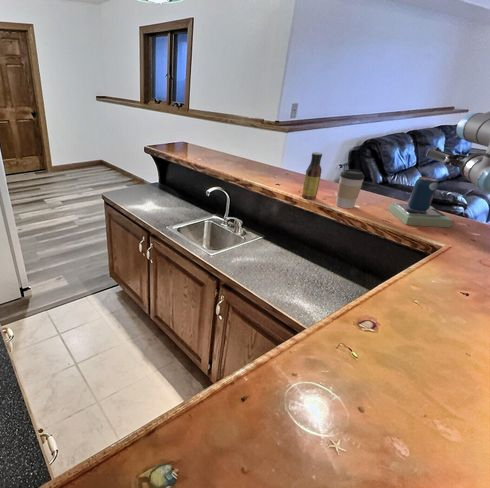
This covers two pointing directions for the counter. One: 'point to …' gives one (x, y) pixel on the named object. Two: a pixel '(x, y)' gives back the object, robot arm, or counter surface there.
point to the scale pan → (408, 211)
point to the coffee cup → (349, 188)
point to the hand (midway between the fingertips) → (456, 154)
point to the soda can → (423, 194)
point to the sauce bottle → (312, 177)
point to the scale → (421, 218)
